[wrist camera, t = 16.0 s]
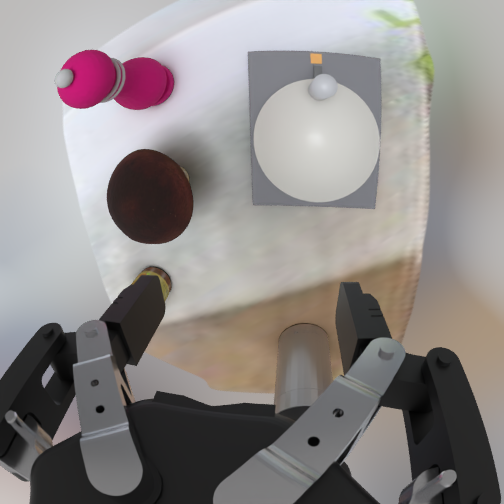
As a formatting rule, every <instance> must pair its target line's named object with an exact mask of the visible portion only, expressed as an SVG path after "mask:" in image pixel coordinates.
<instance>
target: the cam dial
mask: <svg viewBox="0 0 504 504" xmlns="http://www.w3.org/2000/svg"><path fill="white" fill-rule="evenodd" d="M313 67H314V79H306V80H300V81H297V82H293V83H291V84H289V85H286V86H284V87H283V88H281V89H280V90H278V91H277V92H276V93H274V94H273V95H272V96H271V97H270V98H269V99H268V100H267V101H266V103H265V104H264V106H263V107H262V109H261V111H260V113H259V115H258V117H257V120H256V123H255V128H254V139H253V140H254V149H255V154H256V157H257V160H258V163H259V165H260V167H261V169H262V171H263V172H264V173H265V175H266V176H267V178H268V179H269V180H270V181H271V182H272V183H273V184H274V185H275V186H276V187H277V188H279V189H280V190H281V191H283V192H284V193H286V194H288V195H290V196H292V197H294V198H297V199H300V200H304V201H308V202H329V201H334V200H338V199H341V198H343V197H345V196H348V195H349V194H351V193H353V192H354V191H356V190H357V189H358V188H360V187H361V186H362V185H363V184H364V183H365V182H366V180H367V179H368V178H369V176H370V175H371V173H372V171H373V170H374V167H375V165H376V163H377V159H378V155H379V149H380V136H379V130H378V126H377V123H376V120H375V118H374V116H373V114H372V112H371V110H370V109H369V107H368V106H367V105H366V103H365V102H364V101H363V100H362V99H361V98H360V97H359V96H358V95H357V94H356V93H354V92H353V91H352V90H350V89H349V88H347V87H345V86H343V85H341V84H338V83H337V82H336V80H335V79H334V78H333V77H332V76H330V75H328V74H322V66H313Z"/></svg>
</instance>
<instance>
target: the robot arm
mask: <svg viewBox="0 0 504 504" xmlns="http://www.w3.org/2000/svg"><path fill="white" fill-rule="evenodd" d="M164 314H165V301H164V297H163V292H162V288H161V283H160V279H159V277H158V276H156V275H141V276H140V277H139V278H138V279H137V281H136V282H135V283H134V284H132V285H130V286H129V287H127V288H125V289H124V290H123V291H122V292H121V293H120V294H119V296H118V298H116V299H115V300H114V302H113V303H112V304H111V305H110V307H109V308H108V309H107V310H106V312H105V313H104V314H103V316H102V317H101V318H100V319H99V320H92V321H88V322H86V323H84V324H82V325H81V326H80V327H79V328H78V330H77V332H70V333H64V332H63V330H62V328H61V326H60V325H59V324H58V323H49V324H46V325H44V326H42V327H41V328H40V329H39V330H38V331H37V332H36V333H35V335H34V336H33V337H32V338H31V340H30V341H29V342H28V343H27V345H26V346H25V347H24V348H23V350H22V351H21V352H20V354H19V355H18V356H17V358H16V359H15V360H14V362H13V363H12V364H11V366H10V367H9V369H8V370H7V371H6V372H5V374H4V375H3V377H2V378H1V380H0V466H2V467H3V468H4V469H5V470H7V471H8V472H11V473H12V474H13V475H15V476H16V477H17V478H19V479H20V480H22V481H30V486H31V492H30V504H380V503H379V502H378V501H376V500H375V499H374V498H373V497H372V496H371V495H370V494H369V493H368V492H367V491H366V490H365V489H364V488H363V487H362V486H361V485H360V484H359V483H358V482H357V481H356V480H355V479H354V478H353V477H352V476H351V472H350V470H349V468H348V465H347V464H346V463H345V462H344V460H345V459H346V457H348V455H349V454H350V452H351V451H352V449H353V448H354V447H355V445H356V444H357V442H358V441H359V439H360V438H361V436H362V435H363V433H364V432H365V431H366V429H367V428H368V426H369V425H370V423H371V422H372V420H373V419H374V417H375V416H376V414H377V413H378V411H379V410H380V408H381V406H384V407H390V408H395V409H402V411H403V416H404V422H405V428H406V434H407V440H408V447H409V455H410V463H411V472H412V482H411V483H410V484H408V485H407V486H406V487H405V488H404V489H403V491H402V492H401V494H400V497H399V503H398V504H500V503H501V494H500V489H499V483H498V478H497V473H496V468H495V464H494V460H493V456H492V452H491V448H490V444H489V441H488V437H487V434H486V430H485V427H484V424H483V421H482V418H481V415H480V412H479V409H478V406H477V403H476V400H475V398H474V395H473V392H472V390H471V387H470V384H469V382H468V379H467V377H466V374H465V372H464V370H463V367H462V365H461V363H460V360H459V358H458V357H457V355H456V354H455V353H454V352H452V351H451V350H449V349H446V348H442V347H439V348H433V349H432V350H430V351H429V352H428V354H427V356H426V357H422V356H417V355H412V354H408V353H406V352H405V349H404V347H403V346H402V345H401V344H400V343H399V342H398V341H396V340H394V339H392V337H391V334H390V332H389V329H388V326H387V324H386V321H385V319H384V317H383V314H382V311H381V310H380V306H379V304H378V301H377V300H376V299H375V298H374V297H373V296H372V295H371V294H363V293H362V290H361V287H360V284H359V283H358V282H341V284H340V289H339V296H338V302H337V309H336V329H337V335H338V341H339V346H340V352H341V359H342V365H343V372H344V376H342V375H339V376H338V377H336V379H335V380H334V381H333V377H332V368H331V358H330V349H329V341H328V336H327V334H326V332H325V331H324V330H323V329H321V328H320V327H318V326H316V325H312V324H298V325H294V326H292V327H289V328H288V329H286V330H285V331H284V332H283V333H282V334H281V336H280V338H279V345H278V357H277V371H276V384H275V397H274V405H268V404H252V403H240V404H231V405H222V406H210V405H207V404H204V403H201V402H198V401H196V400H193V399H191V398H188V397H186V396H183V395H176V394H170V393H165V392H160V391H157V392H156V394H155V396H154V399H147V400H141V401H138V402H136V401H135V398H134V395H133V392H132V389H131V386H130V383H129V380H128V376H127V373H126V371H125V369H124V367H125V366H126V364H130V365H135V366H137V364H138V362H139V360H140V358H141V357H142V355H143V353H144V351H145V349H146V348H147V346H148V344H149V342H150V340H151V338H152V337H153V335H154V333H155V331H156V329H157V328H158V326H159V324H160V322H161V320H162V319H163V317H164ZM49 365H51V366H52V368H53V370H54V371H55V372H54V374H53V376H52V377H51V379H50V380H49V382H48V384H47V385H46V387H45V388H44V387H43V385H42V376H43V374H44V373H45V371H46V369H47V368H48V367H49ZM75 395H76V401H77V408H78V414H79V420H80V426H81V432H79V433H77V434H75V435H74V436H72V437H70V438H68V439H66V440H64V441H62V442H60V443H58V444H57V445H54V446H53V445H52V440H53V438H54V435H55V434H56V431H57V429H58V428H59V425H60V424H61V422H62V419H63V418H64V416H65V414H66V412H67V410H68V408H69V406H70V404H71V402H72V400H73V398H74V397H75Z"/></svg>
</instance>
